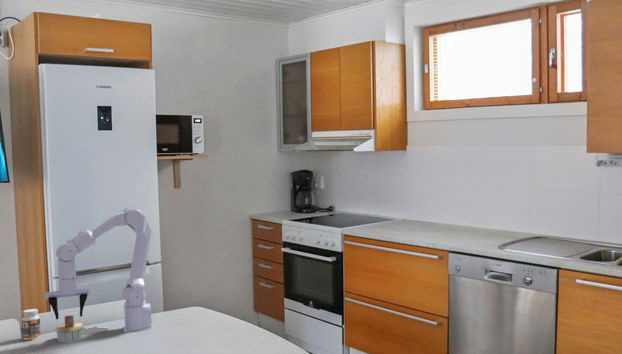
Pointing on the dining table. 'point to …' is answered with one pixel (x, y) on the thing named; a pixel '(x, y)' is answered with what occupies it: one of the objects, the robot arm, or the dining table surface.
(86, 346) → the dining table surface
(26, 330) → the pill bottle
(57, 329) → the lid
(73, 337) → the bowl
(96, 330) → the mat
